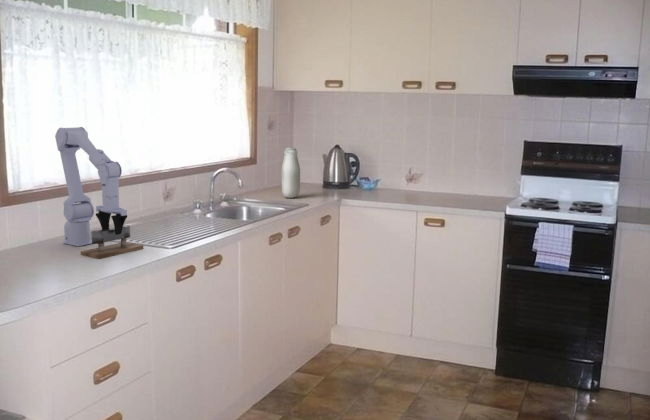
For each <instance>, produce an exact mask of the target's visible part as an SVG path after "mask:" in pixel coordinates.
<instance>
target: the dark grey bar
mask: <svg viewBox="0 0 650 420" xmlns="http://www.w3.org/2000/svg"><path fill="white" fill-rule="evenodd" d="M90 235H91V241H92V244H94V245H98V244H100V243H104V244H105V243H109V242H114V241H117V240H121V239H123V238H126V239H129V238H131V225H126V224H124V225H123V228H122V233H121V234H119V235H116V234H115V228H114V227H109V228H108V229H103V230H102V229H99V230H92V231H90Z"/></svg>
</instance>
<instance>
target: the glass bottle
mask: <svg viewBox="0 0 650 420" xmlns="http://www.w3.org/2000/svg"><path fill="white" fill-rule="evenodd" d="M298 158H299V157H298V150H297V148H296V147H289V146H288V147H286V148H284V151H283V160H282V165H281V172H280V173H281V175H280V176H281V193H282V195H283V196H284V198H288V199H295V198H296V197H298V196H299V194H300V191H301V168H300V163H299V159H298Z"/></svg>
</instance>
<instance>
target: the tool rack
mask: <svg viewBox="0 0 650 420" xmlns="http://www.w3.org/2000/svg"><path fill="white" fill-rule="evenodd" d="M143 249H144V245H143V244H142V245H141V244H139V243H138V244H137V243H132V242H128V241H127V238H123V239H120V242H117V243H114V244H109V245H105V242H104V243H100V244H97V247H95V248H91V249H85V250H81V251H80V255H81V256H86V257H88V258H93V259H98V260H99V259H100V260H101V259H104V258H109V257H113V256H117V255H122V254H125V253H131V252H135V251H139V250H143Z"/></svg>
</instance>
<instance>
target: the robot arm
mask: <svg viewBox="0 0 650 420" xmlns="http://www.w3.org/2000/svg"><path fill="white" fill-rule="evenodd" d="M55 142H56V146H57V151H58V152H59V154H60V158H61V162H62V163H61V164H62V169H63V175H64V177H65V183H66V188H67V192H68V197H67V198H66V199H65V200H64V202H63V216H64V218H65V220H66V222H65V223H64V228H63V229H64V241H62V244H65V245H69V246H74V247H81V246H86V245H92V244H93V243H92V240H91V227H90V224H91V223H90V222H91V221H92V218H93V216H94V214H95V216H96V218H97V219H98V221H99V223H100V227H101V230H103V229H108V228H110V220H111V219H112V222H113V226H114V228H115V234H116V235H119V234H121V233H122V228H123V225H125V222H126V219H127V218H128V212H127V211H128V210H127V209H124V208H122V207H120V187H119V186H120V185H119V178H121V176H122V171H123V170H122V165H121V164H120V162H118V161H114V160H111V158H109V156H108V155H107V154H106V153H105V152H104V150H103V149H100V148H98V149H97V147H96V146H95V145H94V143H93V142H92V141H91V140H90V139H89V133H88V131H87V130H86V129H85V128H84V127H83V126H79V127H58V129H57V130H56V133H55ZM80 149H82V151H84V153H86V155H88V160H89V161H90V163H91V164H92V165H93V166H94V167H95V168H96V169H97V175H98V177H99V182H100V184H101V193H102V195H101V196H102V205H96V206H95V207H94V206H93V203H92V201H91V198H90V197H89V196H88V195H86V194H84V190H83V185H82V181H81V176H80V171H79V166H78V161H77V155H76V154H77V151H79V150H80ZM95 210H96V211H95ZM95 212H97V213H95ZM112 214H113V215H112Z"/></svg>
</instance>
